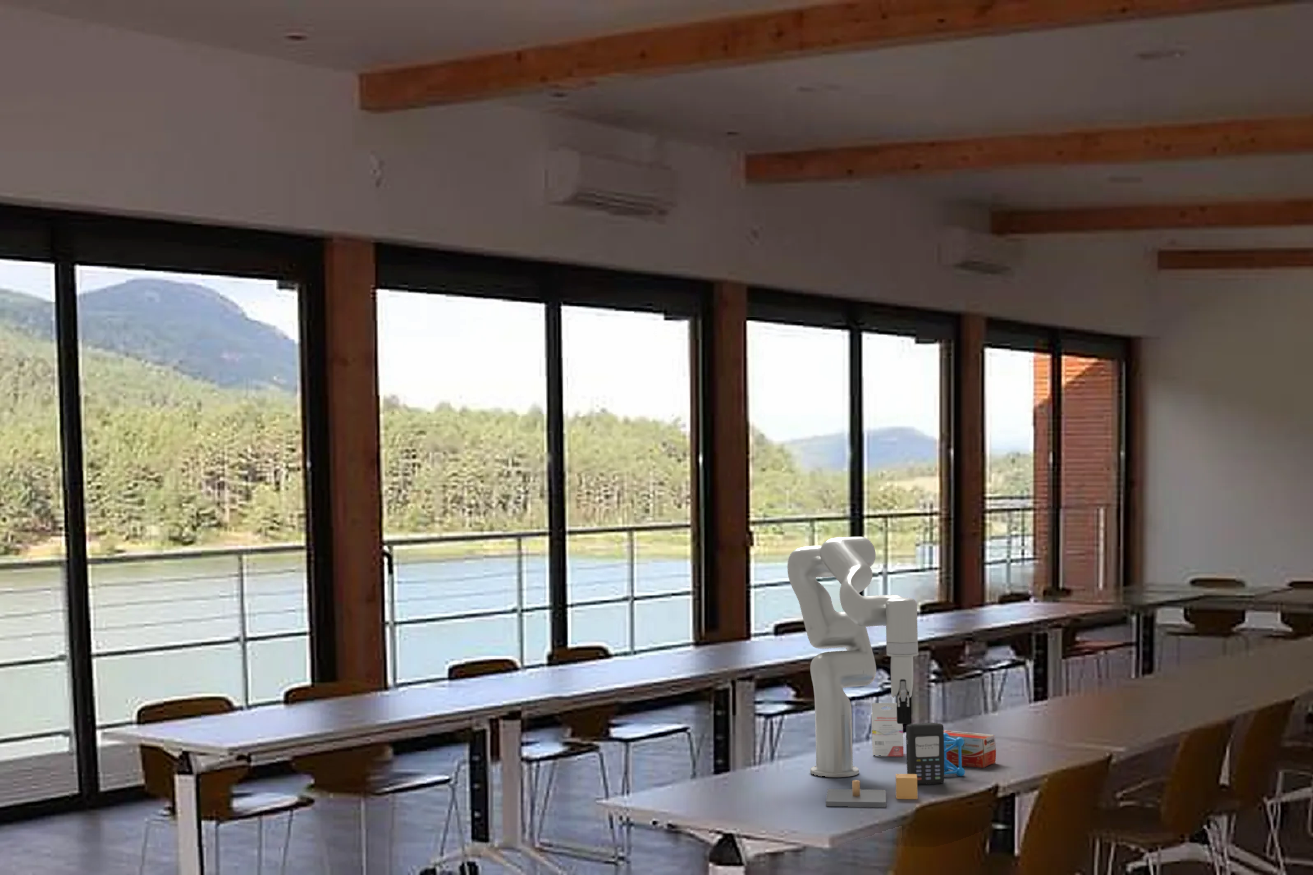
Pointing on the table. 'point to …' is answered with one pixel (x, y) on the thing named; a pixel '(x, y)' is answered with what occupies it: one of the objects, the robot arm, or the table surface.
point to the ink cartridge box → (886, 730)
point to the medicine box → (972, 749)
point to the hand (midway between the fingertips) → (903, 720)
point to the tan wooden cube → (906, 786)
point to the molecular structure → (959, 743)
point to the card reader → (925, 752)
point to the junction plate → (856, 797)
